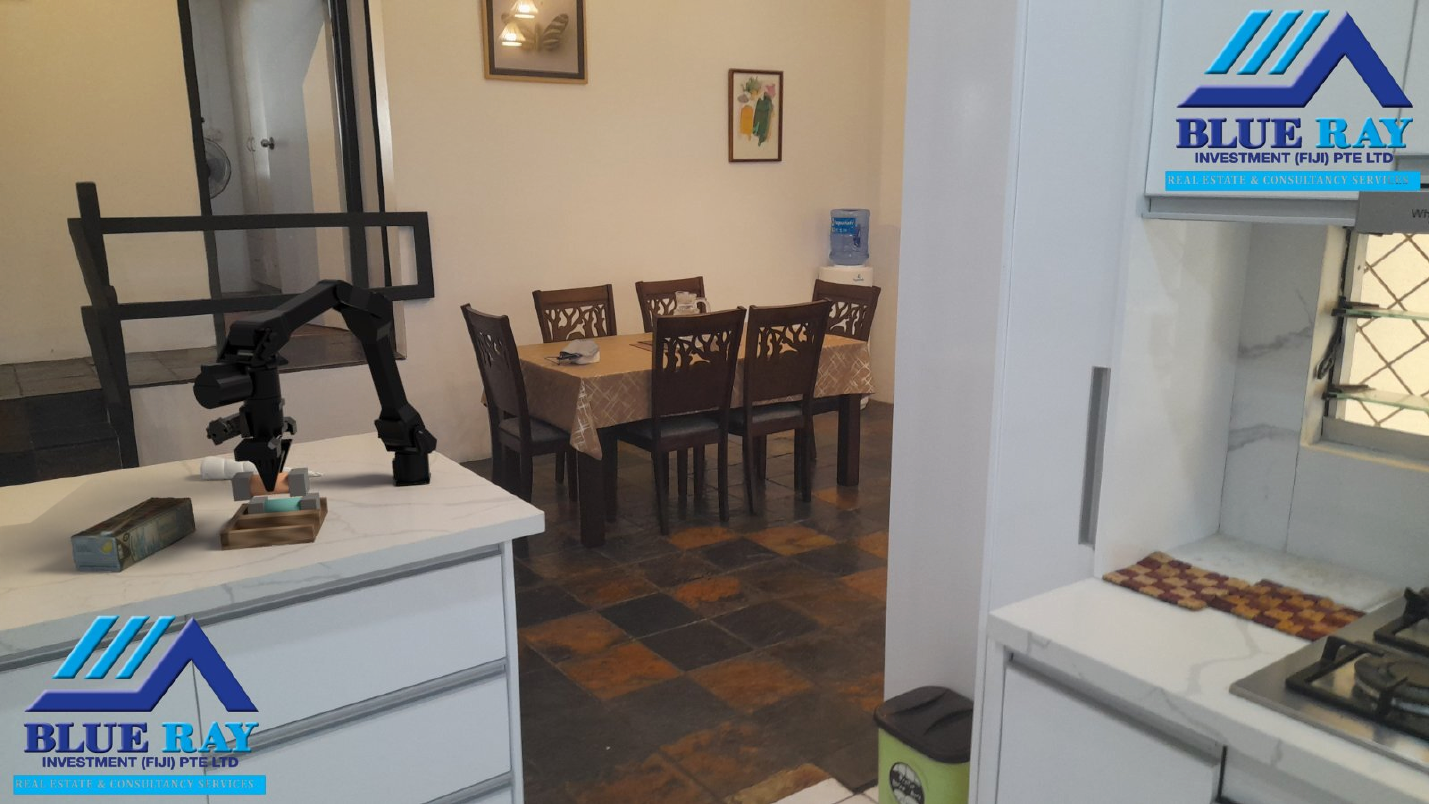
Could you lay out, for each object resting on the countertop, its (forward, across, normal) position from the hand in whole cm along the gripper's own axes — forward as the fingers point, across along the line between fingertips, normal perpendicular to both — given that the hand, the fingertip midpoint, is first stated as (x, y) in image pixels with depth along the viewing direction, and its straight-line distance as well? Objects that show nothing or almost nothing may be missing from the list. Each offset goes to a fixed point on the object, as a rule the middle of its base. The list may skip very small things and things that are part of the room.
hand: (272, 488), depth 159 cm
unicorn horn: (+9, -39, -10) cm, 42 cm away
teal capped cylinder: (+8, -8, 0) cm, 11 cm away
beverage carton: (+9, 0, -21) cm, 23 cm away
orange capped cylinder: (+1, 0, 0) cm, 1 cm away
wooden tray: (+9, -4, -1) cm, 10 cm away
